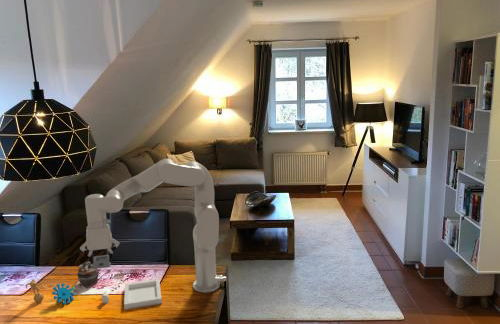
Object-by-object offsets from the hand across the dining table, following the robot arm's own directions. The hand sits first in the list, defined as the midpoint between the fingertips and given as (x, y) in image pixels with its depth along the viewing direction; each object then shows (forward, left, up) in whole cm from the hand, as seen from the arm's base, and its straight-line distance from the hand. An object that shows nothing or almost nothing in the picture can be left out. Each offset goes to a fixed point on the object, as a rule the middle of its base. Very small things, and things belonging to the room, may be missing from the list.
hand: (101, 261), depth 173 cm
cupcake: (+9, -20, -19) cm, 29 cm away
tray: (-16, 0, -19) cm, 25 cm away
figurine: (+29, -8, -19) cm, 36 cm away
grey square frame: (0, 0, -1) cm, 1 cm away
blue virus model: (+18, -6, -20) cm, 27 cm away
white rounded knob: (0, 0, -19) cm, 19 cm away
